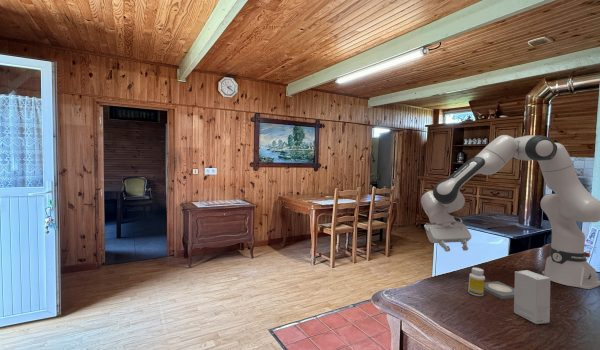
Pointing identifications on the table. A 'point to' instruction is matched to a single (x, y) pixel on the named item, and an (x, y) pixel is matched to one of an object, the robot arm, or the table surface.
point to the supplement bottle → (476, 282)
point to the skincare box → (532, 296)
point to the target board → (499, 290)
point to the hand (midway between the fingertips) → (457, 250)
